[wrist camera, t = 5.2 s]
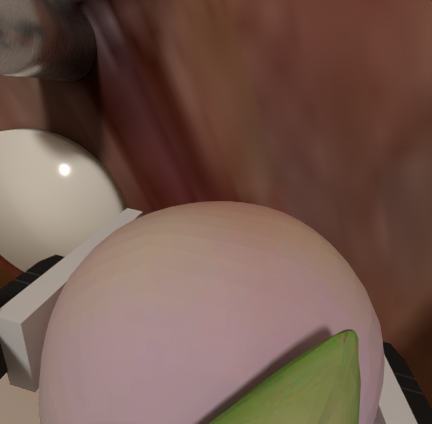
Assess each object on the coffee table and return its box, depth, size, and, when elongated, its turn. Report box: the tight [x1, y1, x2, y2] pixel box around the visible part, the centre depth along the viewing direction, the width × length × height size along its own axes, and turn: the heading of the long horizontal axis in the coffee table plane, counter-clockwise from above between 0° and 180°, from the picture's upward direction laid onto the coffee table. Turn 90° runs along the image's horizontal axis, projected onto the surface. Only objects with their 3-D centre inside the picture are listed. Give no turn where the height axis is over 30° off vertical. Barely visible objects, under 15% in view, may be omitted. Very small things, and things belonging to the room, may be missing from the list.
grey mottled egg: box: [0, 0, 97, 81], centre depth 15 cm, size 5×5×7 cm
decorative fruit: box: [39, 201, 385, 424], centre depth 8 cm, size 9×8×10 cm
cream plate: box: [0, 128, 127, 272], centre depth 23 cm, size 15×15×2 cm
